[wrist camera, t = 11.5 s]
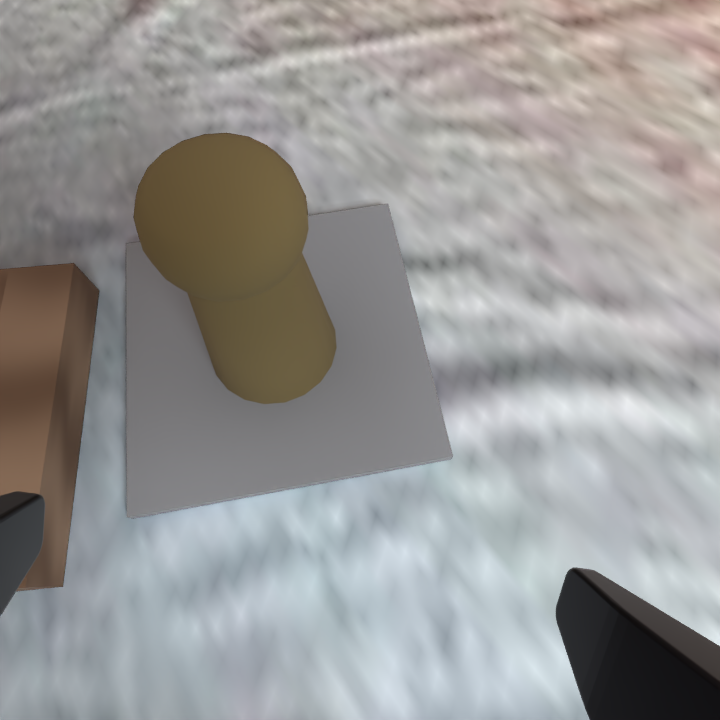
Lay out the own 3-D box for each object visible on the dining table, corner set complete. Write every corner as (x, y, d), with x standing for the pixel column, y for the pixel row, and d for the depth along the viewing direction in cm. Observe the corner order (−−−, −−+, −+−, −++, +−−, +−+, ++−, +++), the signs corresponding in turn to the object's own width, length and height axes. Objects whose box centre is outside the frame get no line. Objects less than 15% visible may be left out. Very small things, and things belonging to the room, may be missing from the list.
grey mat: (450, 459, 23) (453, 456, 22) (132, 518, 22) (126, 517, 21) (387, 210, 28) (387, 203, 28) (130, 250, 27) (126, 243, 27)
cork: (189, 326, 25) (68, 152, 15) (298, 269, 26) (255, 73, 16) (245, 428, 23) (149, 309, 13) (360, 362, 24) (357, 204, 14)
